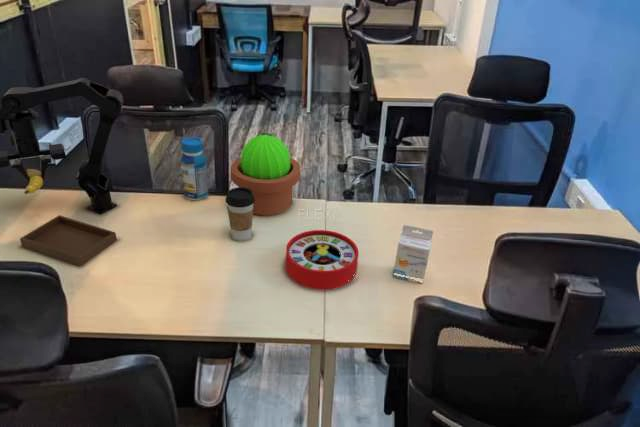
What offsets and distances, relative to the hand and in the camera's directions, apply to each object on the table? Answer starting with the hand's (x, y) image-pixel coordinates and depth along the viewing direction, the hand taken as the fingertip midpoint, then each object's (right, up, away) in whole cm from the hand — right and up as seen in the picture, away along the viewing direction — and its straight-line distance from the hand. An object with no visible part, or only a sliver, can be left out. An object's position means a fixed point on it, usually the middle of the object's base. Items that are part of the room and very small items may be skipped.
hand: (36, 181), depth 154 cm
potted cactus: (+68, -6, +17) cm, 70 cm away
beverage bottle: (+44, -4, +19) cm, 48 cm away
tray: (+14, -18, -8) cm, 25 cm away
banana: (-1, -1, 0) cm, 1 cm away
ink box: (+111, -27, -13) cm, 115 cm away
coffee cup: (+62, -17, 0) cm, 65 cm away
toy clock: (+87, -25, -11) cm, 91 cm away
